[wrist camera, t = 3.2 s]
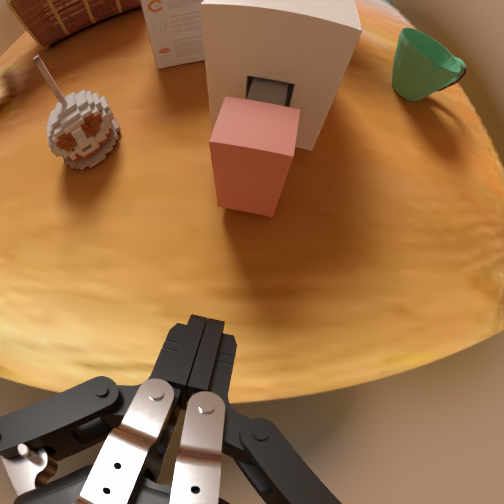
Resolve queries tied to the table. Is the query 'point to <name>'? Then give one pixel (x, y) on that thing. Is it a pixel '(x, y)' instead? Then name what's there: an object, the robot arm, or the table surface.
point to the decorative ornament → (79, 125)
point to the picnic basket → (64, 16)
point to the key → (254, 147)
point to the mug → (423, 66)
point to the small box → (174, 31)
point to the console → (280, 53)
